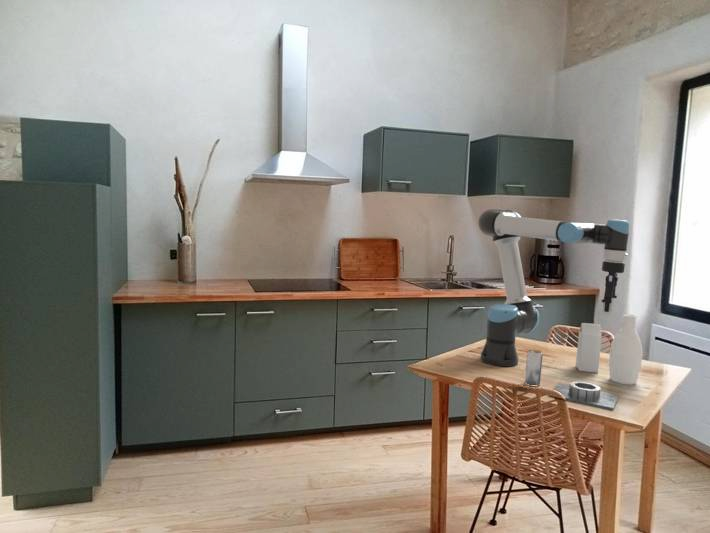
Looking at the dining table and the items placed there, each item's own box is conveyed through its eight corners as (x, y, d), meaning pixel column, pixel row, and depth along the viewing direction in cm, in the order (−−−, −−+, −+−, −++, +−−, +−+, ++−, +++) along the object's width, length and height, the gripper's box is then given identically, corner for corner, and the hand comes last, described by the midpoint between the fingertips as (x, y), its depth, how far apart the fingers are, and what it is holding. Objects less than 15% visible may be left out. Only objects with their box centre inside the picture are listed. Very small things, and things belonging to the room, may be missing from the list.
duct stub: (523, 384, 193) (526, 349, 192) (526, 381, 198) (529, 346, 196) (537, 387, 191) (541, 351, 189) (541, 384, 195) (544, 349, 194)
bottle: (638, 388, 196) (645, 319, 193) (605, 381, 202) (611, 315, 199) (640, 380, 205) (647, 315, 203) (608, 374, 211) (615, 311, 209)
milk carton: (598, 373, 213) (602, 326, 211) (579, 371, 214) (583, 324, 212) (593, 368, 220) (598, 322, 218) (575, 366, 221) (579, 321, 219)
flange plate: (548, 396, 182) (549, 385, 181) (558, 384, 195) (559, 374, 195) (613, 410, 171) (614, 398, 171) (619, 397, 184) (620, 386, 184)
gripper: (623, 264, 186) (615, 324, 189) (626, 260, 208) (620, 314, 210) (599, 262, 190) (592, 321, 192) (605, 258, 212) (599, 311, 214)
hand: (607, 317), depth 201 cm, fingers open, 13 cm apart
